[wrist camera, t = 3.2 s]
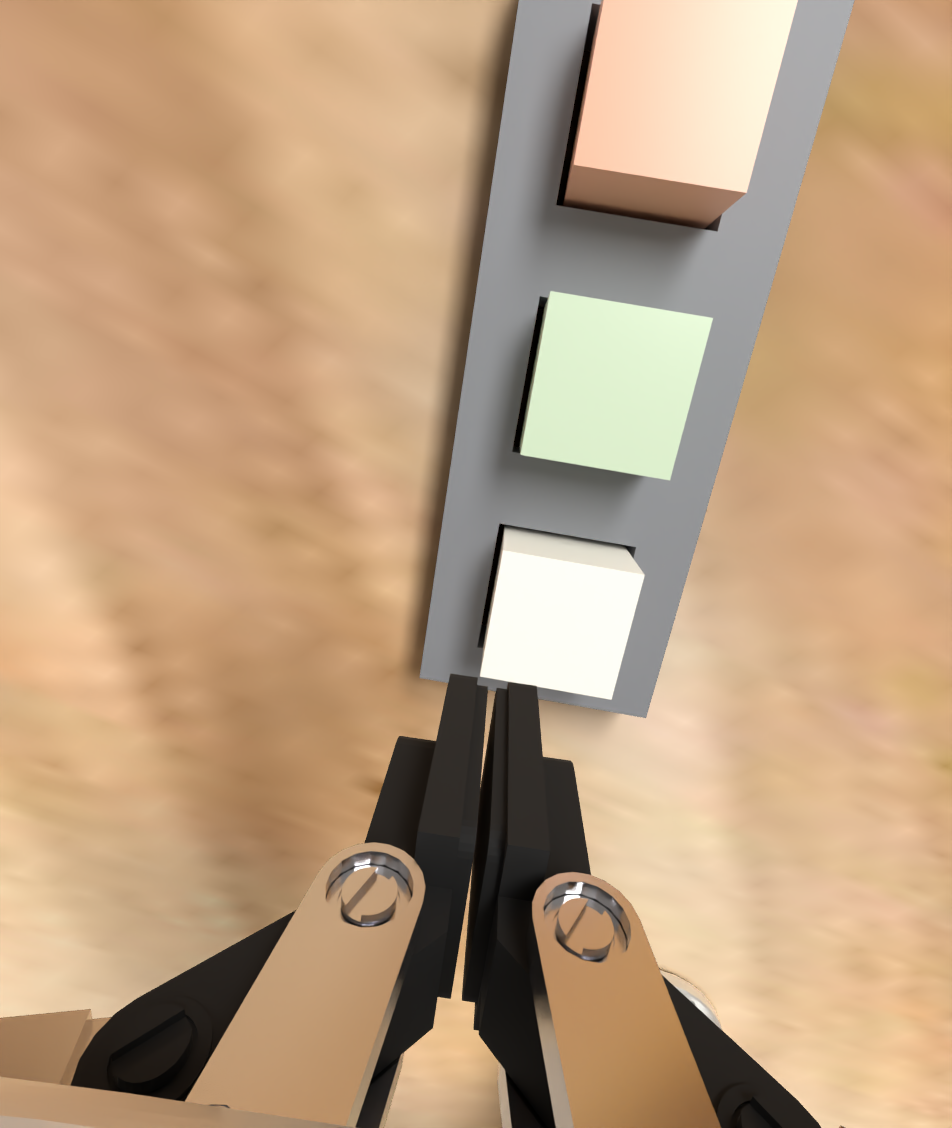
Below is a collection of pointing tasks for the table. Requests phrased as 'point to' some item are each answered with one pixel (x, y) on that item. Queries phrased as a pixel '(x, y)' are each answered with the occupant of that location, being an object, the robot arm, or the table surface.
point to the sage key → (612, 384)
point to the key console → (621, 274)
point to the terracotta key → (675, 106)
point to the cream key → (560, 612)
